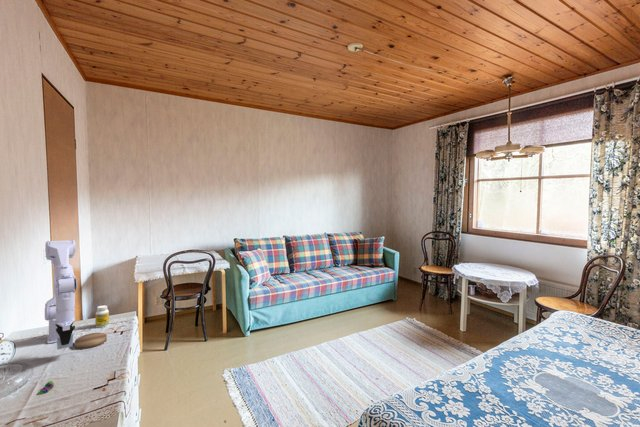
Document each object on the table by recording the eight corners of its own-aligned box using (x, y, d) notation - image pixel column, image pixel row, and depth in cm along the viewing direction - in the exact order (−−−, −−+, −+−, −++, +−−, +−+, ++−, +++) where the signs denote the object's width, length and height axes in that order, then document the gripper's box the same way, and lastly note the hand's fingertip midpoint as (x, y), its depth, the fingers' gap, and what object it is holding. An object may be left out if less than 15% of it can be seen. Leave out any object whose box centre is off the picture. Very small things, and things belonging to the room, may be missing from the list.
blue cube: (57, 345, 116) (57, 334, 116) (71, 341, 119) (72, 330, 119) (57, 349, 113) (57, 338, 113) (72, 346, 116) (72, 335, 116)
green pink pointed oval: (43, 388, 98) (43, 381, 98) (53, 387, 98) (53, 380, 98) (34, 396, 94) (34, 389, 94) (45, 395, 94) (45, 388, 94)
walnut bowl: (73, 341, 128) (73, 337, 128) (104, 334, 136) (104, 330, 136) (75, 351, 120) (75, 347, 120) (108, 343, 128) (108, 339, 128)
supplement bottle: (109, 322, 149) (109, 304, 149) (108, 326, 144) (108, 307, 144) (95, 324, 146) (96, 305, 146) (94, 328, 142) (95, 309, 141)
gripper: (51, 305, 118) (51, 338, 118) (52, 316, 107) (51, 352, 108) (74, 301, 123) (73, 333, 123) (77, 312, 112) (76, 346, 113)
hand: (64, 342), depth 116 cm, fingers closed on blue cube, 4 cm apart
